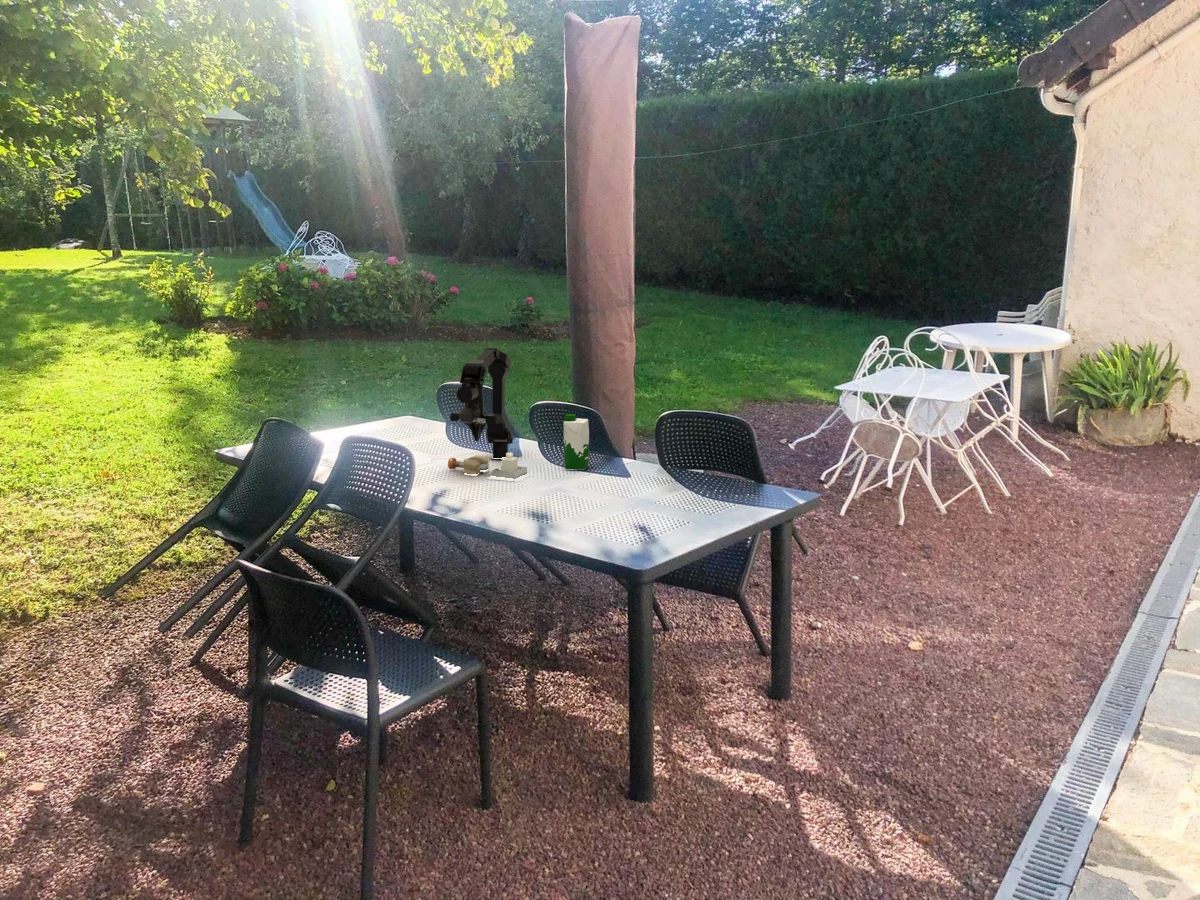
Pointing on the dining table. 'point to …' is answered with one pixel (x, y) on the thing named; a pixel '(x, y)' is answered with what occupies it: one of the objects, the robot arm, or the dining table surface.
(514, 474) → the socket
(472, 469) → the mount
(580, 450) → the milk carton
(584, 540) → the dining table surface
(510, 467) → the spigot
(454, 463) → the pin
